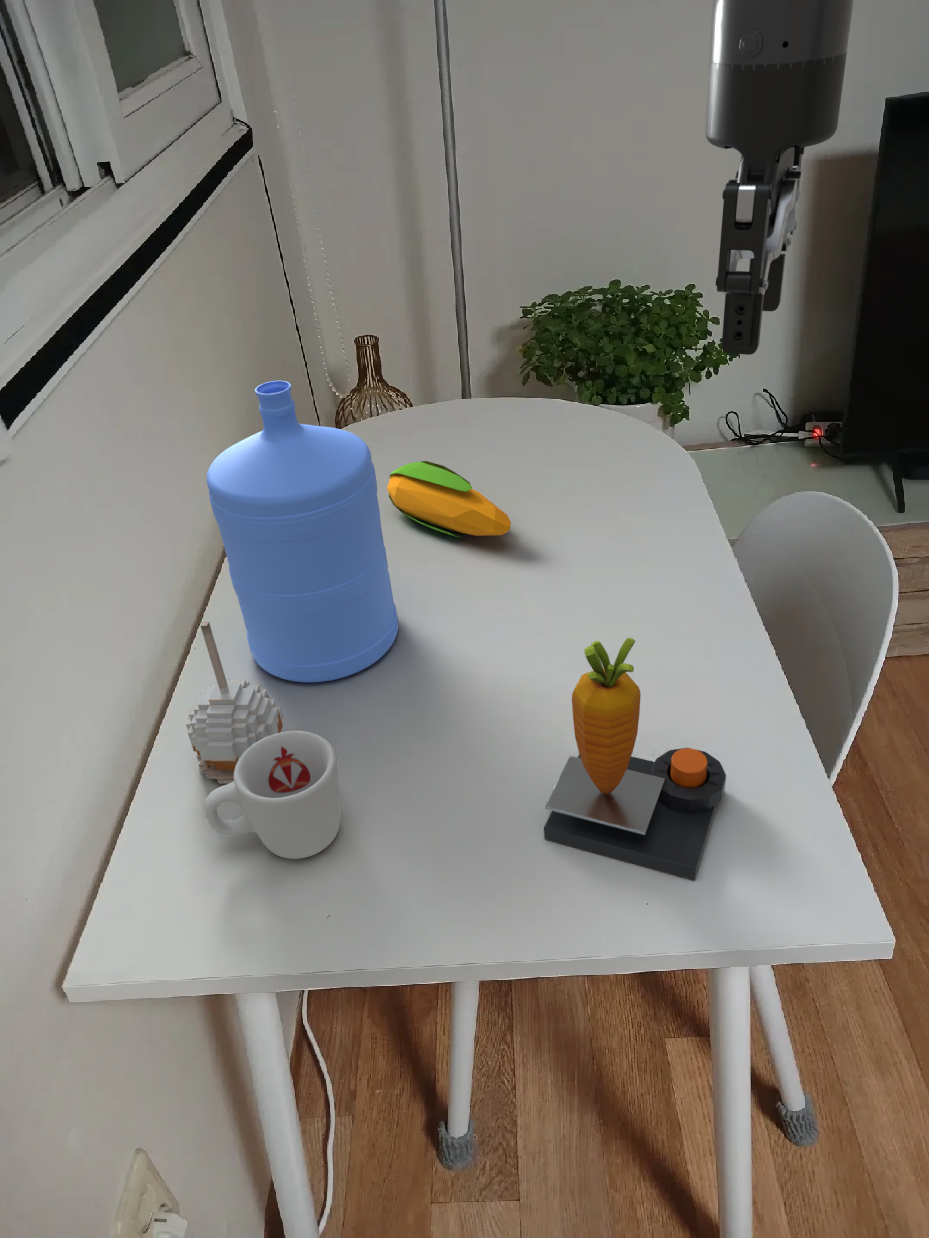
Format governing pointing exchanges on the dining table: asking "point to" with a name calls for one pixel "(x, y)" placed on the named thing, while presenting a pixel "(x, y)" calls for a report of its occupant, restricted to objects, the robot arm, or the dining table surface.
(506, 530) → the corn
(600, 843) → the scale
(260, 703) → the caramel apple
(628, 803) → the plate
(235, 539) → the water jug
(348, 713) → the dining table surface
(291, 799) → the cup
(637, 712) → the carrot
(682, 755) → the button
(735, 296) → the robot arm
